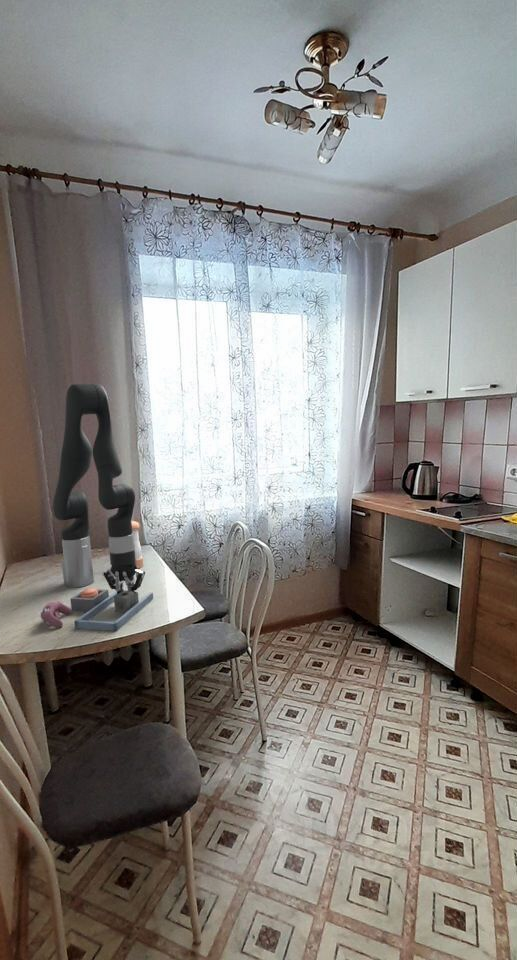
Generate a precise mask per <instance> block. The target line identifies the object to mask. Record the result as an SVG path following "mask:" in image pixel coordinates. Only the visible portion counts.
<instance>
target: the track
mask: <svg viewBox="0 0 517 960" xmlns="http://www.w3.org/2000/svg"><path fill="white" fill-rule="evenodd" d="M115 595H117V591H116V590H115V592H113V593H112V594H111V595H110V594H109V597H108V598H106V599H105V600H103V601H102V602H101V603H99V604H98V605H96V606H95V607H94V608H92V609H91V610H89V611H88V612H84V614H82V615H81V616H80V617H78V618H77V619H75V620H74V628H75V629H85V630H86V629H87V630H88V629H89V630H98V631H99V630H102V631H113V632H115V631H116V632H117V631H118V630H119V629H120V628H121V627H124V625H125V624H126V623H128V622H129V620H131V618H133V617H134V616H136V615H137V614H138V613H139V612H140V611H141V610H142V609H143V608H145V607H146V606H147V605H148V604H149V603H150V602H152V601H153V599H154V593H153V592H149V593H148V594H147V595H145V596H144V597H143V598H142V599H140V600H139V602H138V603H137V604H136V605H135V606H133V607H132V608H131V609H130V610H129V611H127V612H126V613H125V614H122V615H121V616H120V617H119V618H118V619H117V620H115V621H103V620H92V619H93V618H94V617H95V616H97V615H98V614H100V613H101V612H102V611H104V609H106V608H107V607H109V606H110V605H111V604H113V603H114V596H115ZM146 604H147V605H146Z"/></svg>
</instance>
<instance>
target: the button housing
mask: <svg viewBox="0 0 517 960" xmlns="http://www.w3.org/2000/svg"><path fill="white" fill-rule="evenodd" d="M86 589H87V588H84V589H83V590H82V591H80V592H79V593H77V594H75V595H73V596H72V597H70V609H71V610H72V612H80V613H81V612H83V613H87V612H88V611H89V610H91V609H92V608H94V607H95V606H96V605H98V604H99V603H101V602H102V601H103V600H105V599H106V598H108V597H109V596H110V594H109V593H110V592H109V589H98V588H96V589H97V590H98V595H97V596H95V597H94V598H81V592H83V591H84V590H86Z"/></svg>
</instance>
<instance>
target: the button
mask: <svg viewBox="0 0 517 960" xmlns="http://www.w3.org/2000/svg"><path fill="white" fill-rule="evenodd" d="M85 589H86V590H85ZM85 589H83V590H84V591H83V590H82V591H83V592H82V591H80V592H81V598H94V597H95V596H97V595H98V590H97V589H98V588H92V587H91V588H85Z"/></svg>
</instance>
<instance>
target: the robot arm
mask: <svg viewBox="0 0 517 960" xmlns="http://www.w3.org/2000/svg"><path fill="white" fill-rule="evenodd" d="M110 407H111V406H110V402H109V398H108V394H107V391H106V389H105V388H104V386H103V385H102V384H98V383H76V384H75V383H74V384H70V385H69V387H68V389H67V392H66V397H65V419H64V420H65V422H64V423H65V424H64V434H63V442H62V446H61V448H62V449H61V455H60V461H59V463H60V464H59V474H58V480H57V485H56V487H55V492H54V497H53V502H52V503H53V504H52V511H53V515H54V517H55V519H57V521H69V520H74V521H73V522H72V523H71V524H70V525H69V526H67V527H66V528H63V530H62V531H61V533H60V537H61V546H62V552H63V558H62V559H61V569H62V579H63V584H64V585H63V586H67V587H69V588H81V587H86V586H88V585H91V584H92V583H94V581H95V577H94V570H93V569H94V567H93V557H92V550H91V549H92V548H91V540H90V539H91V538H90V519H89V518H90V515H89V513H90V512H89V511H90V510H89V503H88V502H89V501H88V498H87V495H86V494H85V493H84V492H83V491H74V492H72V491H73V489H74V488H75V487H76V485H77V484H78V483H79V482H80V481H81V479H82V478H83V477H84V476H85V475H86V474H87V473H88V471H89V469H90V467H91V463H92V456H93V461H94V465H95V470H96V472H97V476H98V477H97V481H98V482H97V483H98V486H97V487H98V491H97V492H98V495H97V496H98V501H99V503H100V506H101V507H102V508H104V509H105V510H107V511H109V510H115V509H117V512H116V513H115V514H114V515H112V516H110V517H108V519H107V531H108V532H107V533H108V553H109V562H110V564H109V565H111V566H110V569H107V570H105V571H104V572H103V573H102V575H103V577H104V579H105V580H106V582H107V584H108V586H109V588H110V589H111V590H115V592H116V591H117V594H119V593H121V592H123V591H125V589H124V582H125V585H126V587H127V591H133V592H136V591H137V590H138V589H140V588H141V586H142V583H143V580H144V578H145V575H146V571H145V570H140V569H137V567H136V565H135V562H136V558H135V545H134V538H133V533H132V523H131V520H132V518H133V514H134V508H135V503H136V493H135V490H134V488H133V487H132V486H131V485H130V484H128V483H121V484H115V485H114V484H113V481H114V479H116V478H118V477H120V476H121V475H122V473H123V471H122V470H123V469H122V466H121V465H122V464H121V463H120V459H119V455H118V452H117V448H116V444H115V440H114V439H115V438H114V432H113V423H112V416H111V408H110ZM83 415H95V416H96V418H97V423H98V427H97V431H96V432H97V433H96V436H95V439H94V441H93V442H94V443H93V446H92V445H91V442H90V440H89V439H88V437H87V436H86V435H85V432H84V431H83V428H82V418H83ZM132 521H133V520H132ZM135 578H136V579H135Z"/></svg>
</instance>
